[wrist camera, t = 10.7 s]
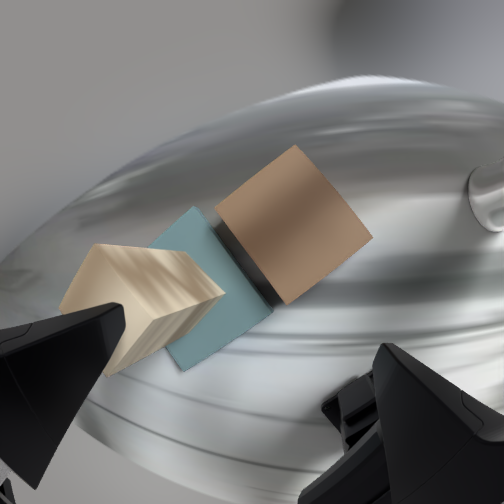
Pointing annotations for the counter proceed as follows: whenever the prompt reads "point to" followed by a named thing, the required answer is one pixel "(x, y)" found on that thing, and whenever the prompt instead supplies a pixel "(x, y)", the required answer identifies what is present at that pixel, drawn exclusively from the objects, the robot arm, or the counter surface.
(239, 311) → the teal mat
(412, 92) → the counter surface
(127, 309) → the maple block
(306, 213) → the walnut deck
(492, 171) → the beer glass
